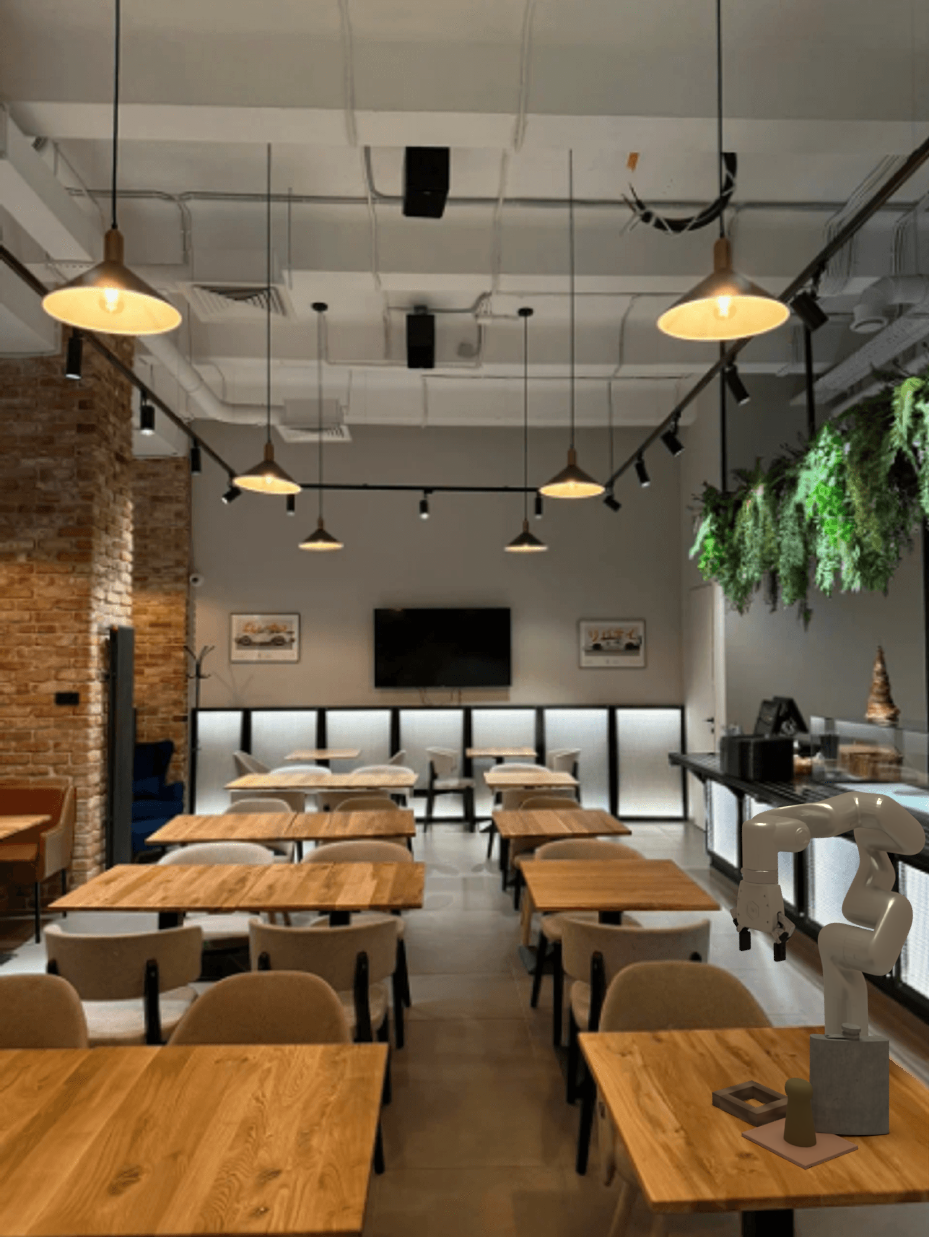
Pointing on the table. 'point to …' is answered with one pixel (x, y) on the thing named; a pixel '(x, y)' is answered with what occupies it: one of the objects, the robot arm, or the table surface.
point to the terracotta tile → (801, 1156)
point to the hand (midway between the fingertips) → (762, 955)
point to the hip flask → (850, 1082)
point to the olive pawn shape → (799, 1114)
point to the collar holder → (757, 1116)
